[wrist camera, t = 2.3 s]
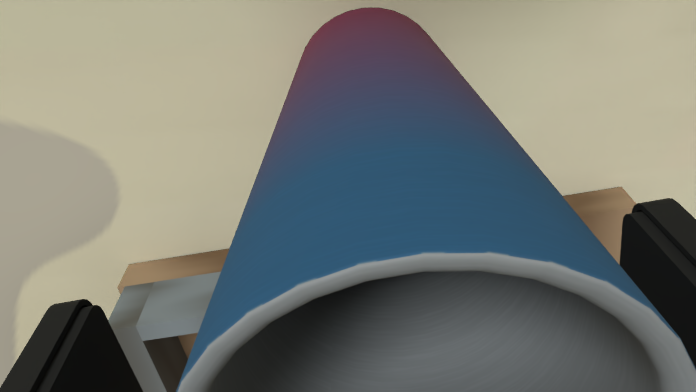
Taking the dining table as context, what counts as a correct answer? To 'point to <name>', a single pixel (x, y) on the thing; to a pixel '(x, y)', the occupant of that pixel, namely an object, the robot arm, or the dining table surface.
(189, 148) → the dining table surface
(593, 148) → the dining table surface
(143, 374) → the board
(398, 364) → the cup
